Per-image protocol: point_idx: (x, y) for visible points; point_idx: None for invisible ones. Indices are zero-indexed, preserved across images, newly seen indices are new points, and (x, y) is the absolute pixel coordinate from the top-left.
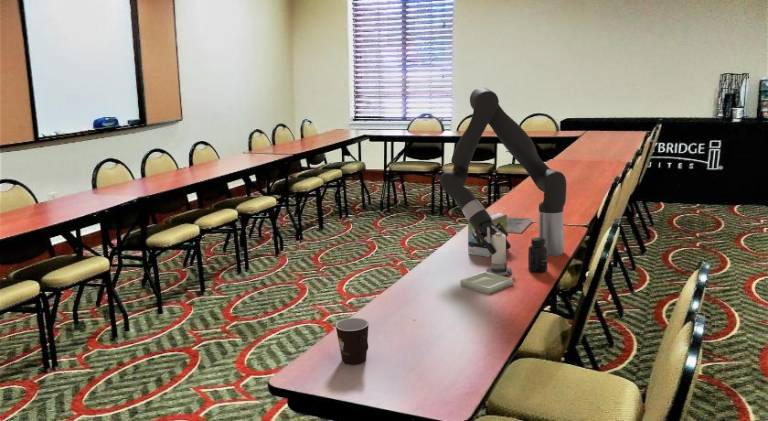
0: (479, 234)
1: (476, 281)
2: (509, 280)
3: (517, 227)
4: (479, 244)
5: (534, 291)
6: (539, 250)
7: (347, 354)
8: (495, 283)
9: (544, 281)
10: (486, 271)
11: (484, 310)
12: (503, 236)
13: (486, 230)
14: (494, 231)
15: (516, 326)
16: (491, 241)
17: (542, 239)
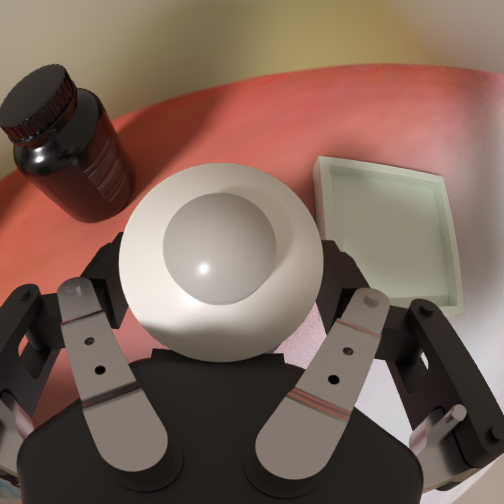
0: (473, 382)
1: (409, 284)
2: (338, 159)
3: None
4: (418, 360)
5: (312, 91)
6: (94, 94)
7: None
8: (374, 207)
9: (204, 107)
10: (272, 352)
11: (481, 144)
12: (219, 176)
13: (342, 429)
14: (142, 389)
15: (461, 76)
16: (17, 490)
17: (35, 75)
